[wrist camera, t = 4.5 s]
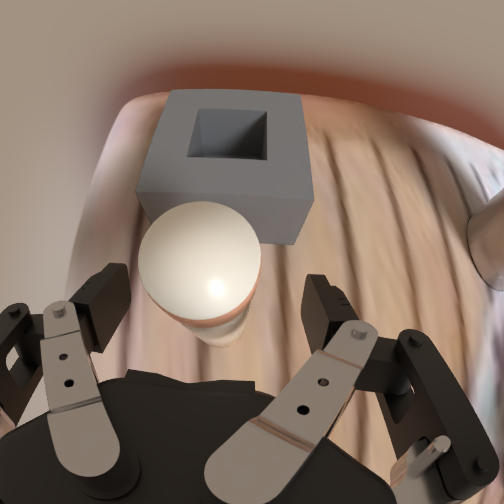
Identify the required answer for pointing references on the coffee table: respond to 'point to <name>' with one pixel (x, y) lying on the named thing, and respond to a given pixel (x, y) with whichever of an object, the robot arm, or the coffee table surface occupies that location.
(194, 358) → the coffee table surface
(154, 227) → the dowel
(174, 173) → the hole block
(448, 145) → the coffee table surface
